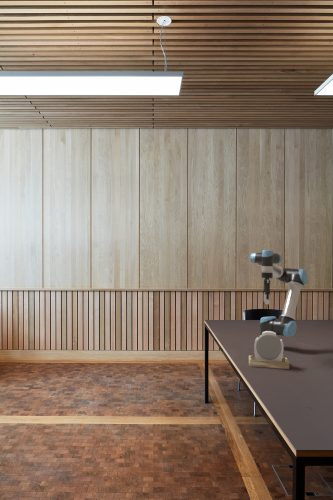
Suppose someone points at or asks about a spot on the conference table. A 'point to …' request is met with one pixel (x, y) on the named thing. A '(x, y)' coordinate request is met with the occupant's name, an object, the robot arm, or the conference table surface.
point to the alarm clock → (268, 347)
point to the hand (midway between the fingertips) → (266, 303)
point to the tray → (268, 363)
